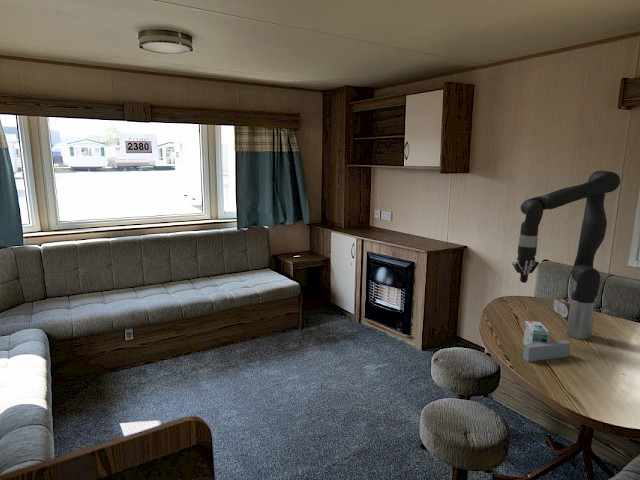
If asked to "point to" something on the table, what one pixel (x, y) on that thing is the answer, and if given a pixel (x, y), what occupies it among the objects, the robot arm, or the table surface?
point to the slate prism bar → (546, 350)
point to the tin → (561, 307)
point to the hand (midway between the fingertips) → (523, 282)
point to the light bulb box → (535, 333)
